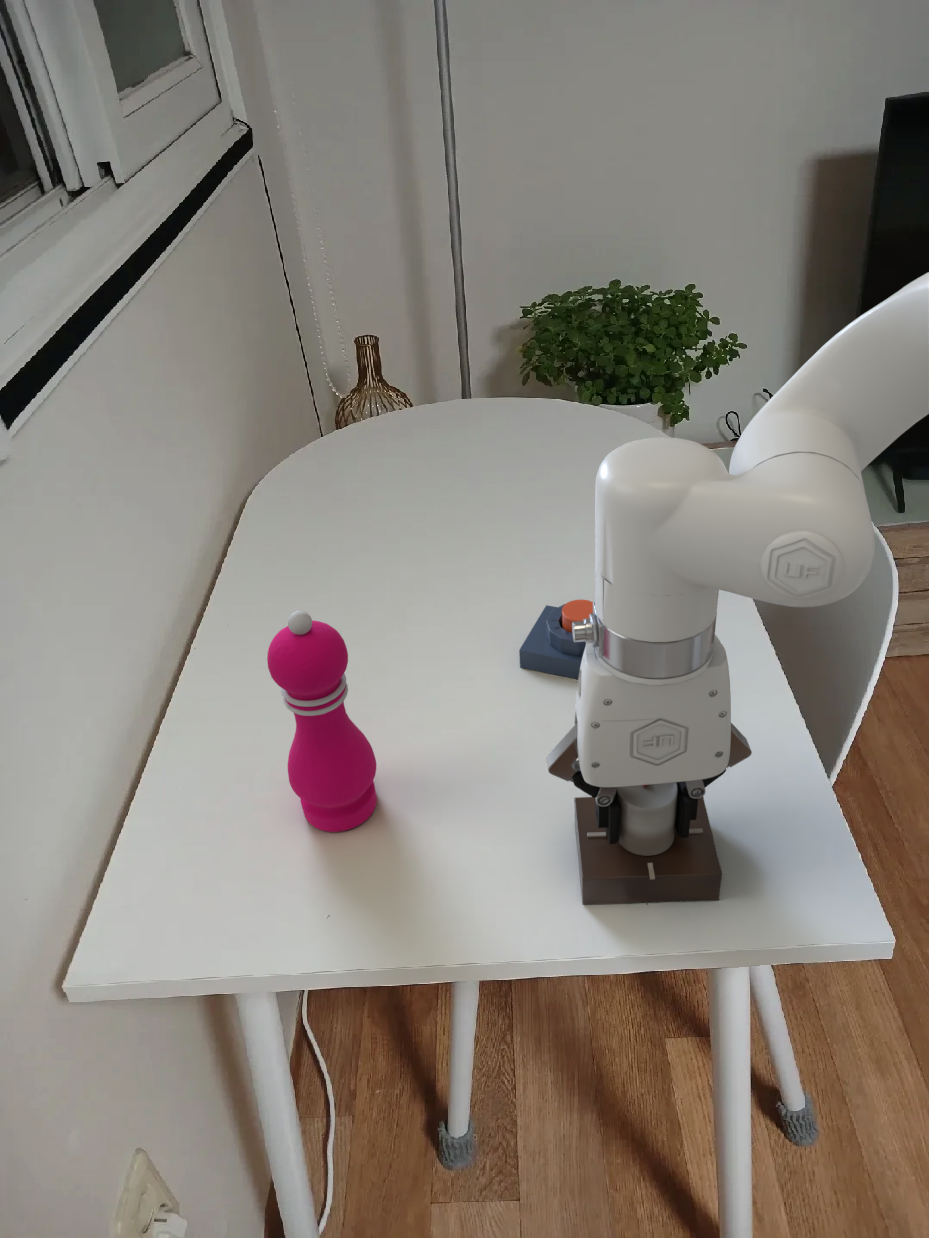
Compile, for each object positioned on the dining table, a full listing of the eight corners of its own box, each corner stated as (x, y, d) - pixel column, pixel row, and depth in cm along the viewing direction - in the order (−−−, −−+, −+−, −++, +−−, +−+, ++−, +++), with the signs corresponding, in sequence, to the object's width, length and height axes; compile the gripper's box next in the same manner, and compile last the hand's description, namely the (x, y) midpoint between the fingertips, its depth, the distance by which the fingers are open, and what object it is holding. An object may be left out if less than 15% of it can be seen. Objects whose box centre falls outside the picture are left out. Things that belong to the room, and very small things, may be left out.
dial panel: (698, 815, 77) (701, 787, 75) (720, 903, 70) (723, 875, 68) (574, 820, 77) (573, 792, 75) (582, 908, 70) (582, 880, 68)
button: (603, 617, 94) (603, 602, 93) (593, 638, 91) (593, 623, 90) (568, 610, 95) (568, 596, 94) (557, 631, 92) (556, 617, 91)
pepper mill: (303, 847, 77) (252, 652, 66) (293, 786, 83) (244, 597, 71) (390, 824, 78) (355, 629, 67) (374, 766, 84) (338, 577, 73)
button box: (640, 639, 96) (641, 606, 94) (618, 687, 90) (619, 654, 88) (546, 622, 100) (545, 590, 97) (519, 667, 94) (518, 635, 92)
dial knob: (686, 842, 71) (690, 791, 68) (636, 864, 69) (638, 814, 66) (652, 803, 74) (655, 754, 71) (604, 824, 73) (604, 774, 70)
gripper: (527, 680, 58) (537, 876, 68) (806, 655, 58) (772, 856, 68) (517, 609, 64) (527, 799, 74) (768, 587, 64) (743, 780, 74)
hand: (645, 824), depth 71 cm, fingers closed on dial knob, 4 cm apart
